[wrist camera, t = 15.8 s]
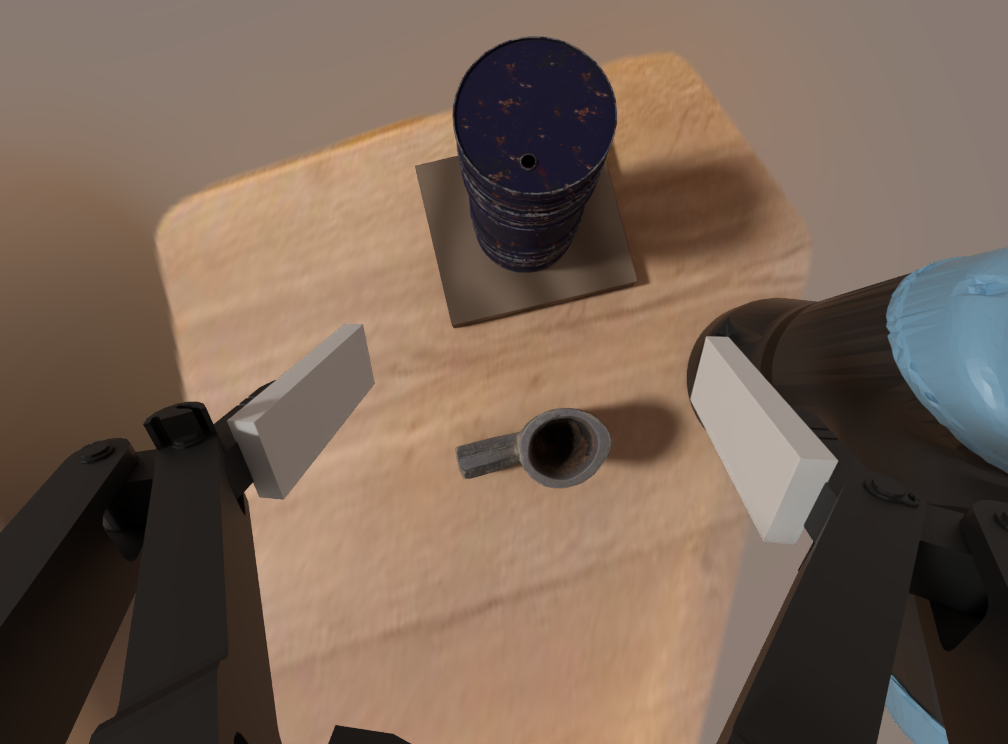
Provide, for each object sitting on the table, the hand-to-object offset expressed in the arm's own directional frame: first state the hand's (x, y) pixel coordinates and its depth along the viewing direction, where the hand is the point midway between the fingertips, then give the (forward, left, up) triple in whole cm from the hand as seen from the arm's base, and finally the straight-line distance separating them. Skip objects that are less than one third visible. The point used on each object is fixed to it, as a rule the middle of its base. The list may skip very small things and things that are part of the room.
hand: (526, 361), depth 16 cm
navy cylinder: (-4, -14, -22) cm, 27 cm away
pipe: (0, +6, -24) cm, 24 cm away
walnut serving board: (-4, -14, -23) cm, 28 cm away
